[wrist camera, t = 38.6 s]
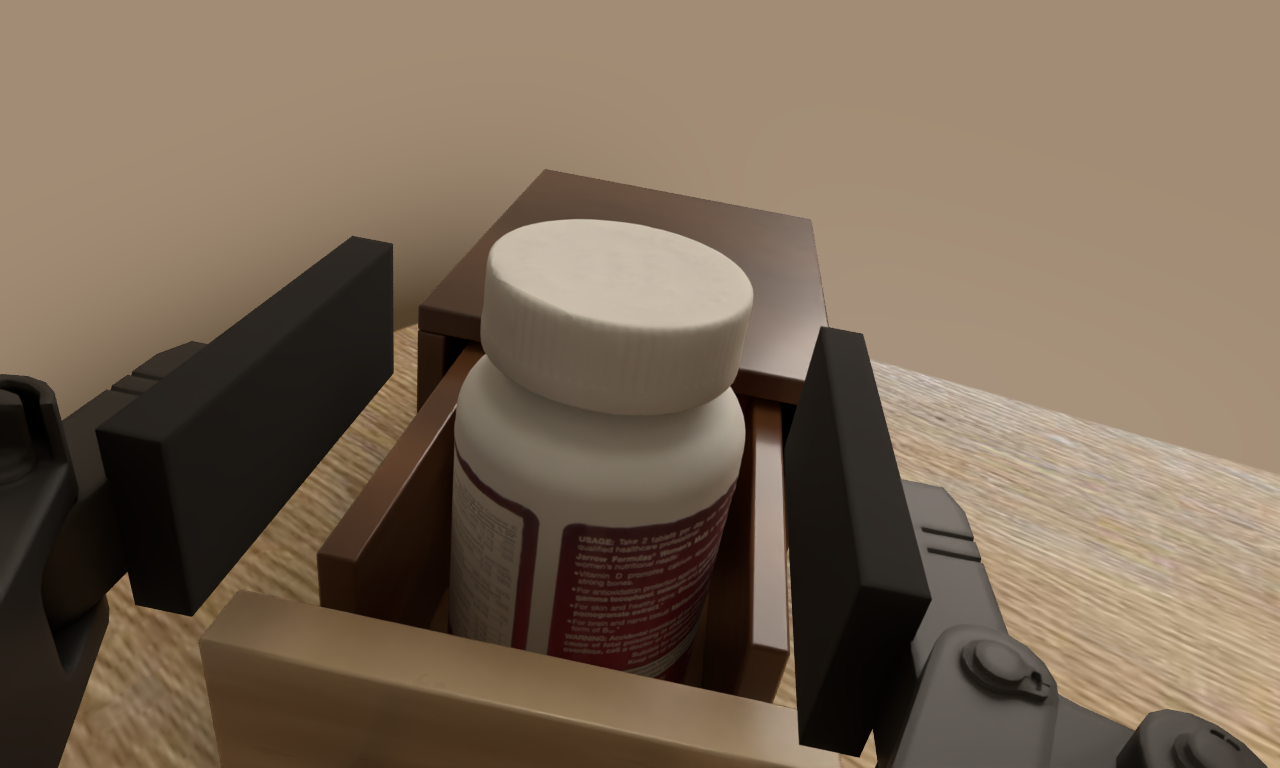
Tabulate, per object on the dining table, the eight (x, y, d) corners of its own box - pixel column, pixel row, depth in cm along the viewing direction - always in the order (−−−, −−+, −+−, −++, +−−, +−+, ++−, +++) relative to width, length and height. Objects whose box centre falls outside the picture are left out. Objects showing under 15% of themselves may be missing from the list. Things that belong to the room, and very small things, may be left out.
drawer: (735, 1388, 12) (887, 1225, 8) (60, 1218, 12) (-86, 990, 9) (751, 551, 28) (805, 368, 24) (458, 490, 28) (467, 302, 24)
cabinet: (762, 628, 26) (840, 388, 21) (414, 554, 26) (417, 304, 22) (763, 400, 39) (811, 218, 34) (527, 353, 39) (544, 168, 34)
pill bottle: (706, 625, 23) (807, 255, 17) (638, 816, 18) (750, 381, 12) (511, 554, 24) (545, 188, 19) (394, 715, 19) (392, 276, 13)
